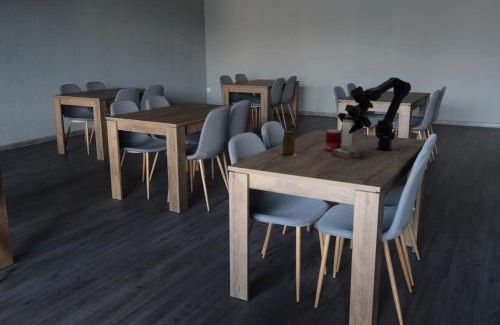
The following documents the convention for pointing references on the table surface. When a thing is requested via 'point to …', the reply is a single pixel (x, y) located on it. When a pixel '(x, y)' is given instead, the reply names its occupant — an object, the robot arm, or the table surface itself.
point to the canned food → (333, 139)
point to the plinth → (345, 153)
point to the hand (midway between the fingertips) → (345, 132)
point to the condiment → (288, 144)
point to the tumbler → (347, 132)
